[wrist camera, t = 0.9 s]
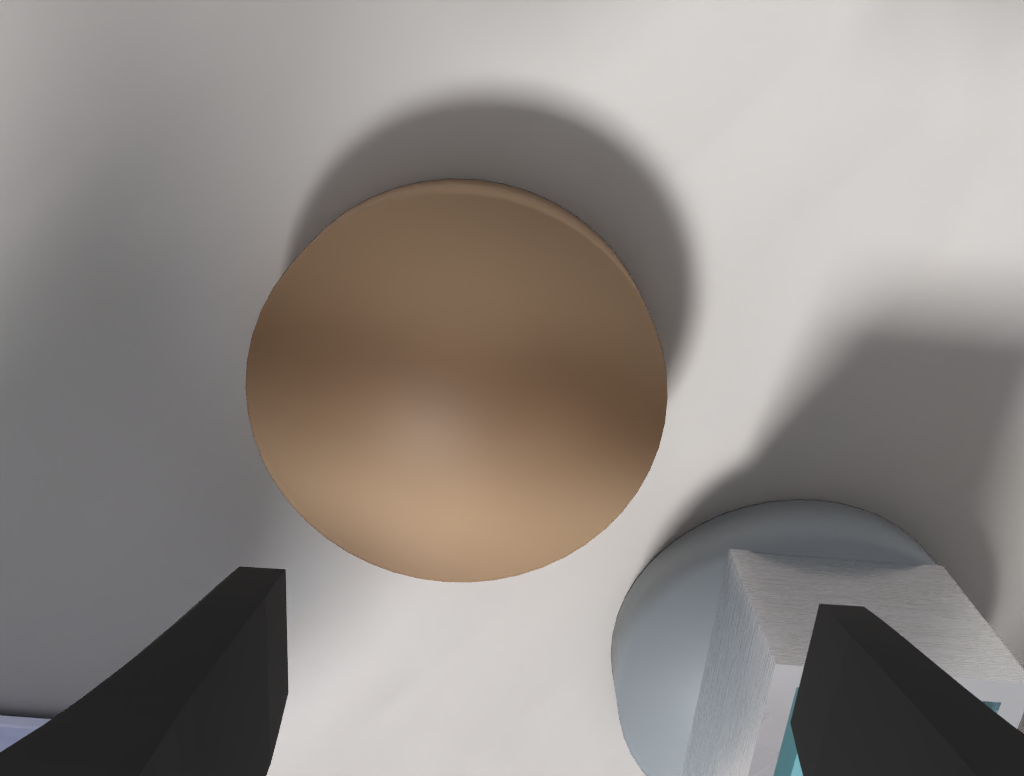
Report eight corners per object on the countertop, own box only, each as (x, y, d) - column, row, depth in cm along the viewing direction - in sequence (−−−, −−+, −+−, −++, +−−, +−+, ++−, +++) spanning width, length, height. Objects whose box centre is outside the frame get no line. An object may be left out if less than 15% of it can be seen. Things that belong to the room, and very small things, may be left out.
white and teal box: (861, 822, 24) (924, 968, 20) (674, 809, 24) (703, 955, 20) (943, 566, 21) (1034, 683, 17) (729, 549, 21) (776, 664, 17)
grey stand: (903, 788, 26) (929, 841, 24) (590, 765, 26) (596, 817, 24) (996, 515, 22) (1035, 555, 21) (637, 485, 22) (647, 523, 20)
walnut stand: (625, 554, 23) (634, 596, 21) (268, 525, 23) (249, 566, 21) (684, 199, 20) (700, 216, 18) (265, 159, 19) (241, 173, 18)
